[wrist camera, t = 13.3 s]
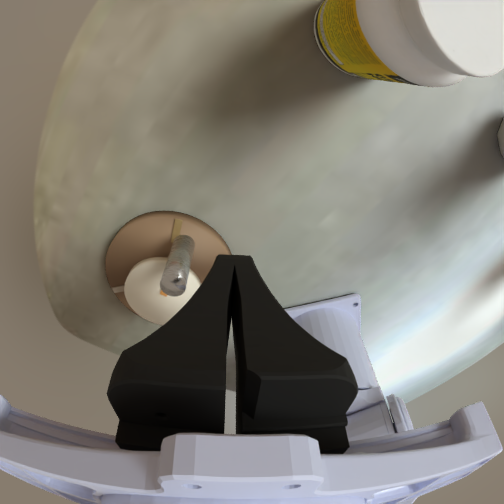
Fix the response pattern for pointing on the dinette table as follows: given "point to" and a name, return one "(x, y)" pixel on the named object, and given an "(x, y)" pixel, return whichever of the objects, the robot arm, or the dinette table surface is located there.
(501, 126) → the salt shaker
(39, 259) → the dinette table surface
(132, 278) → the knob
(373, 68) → the pill bottle
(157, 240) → the base
